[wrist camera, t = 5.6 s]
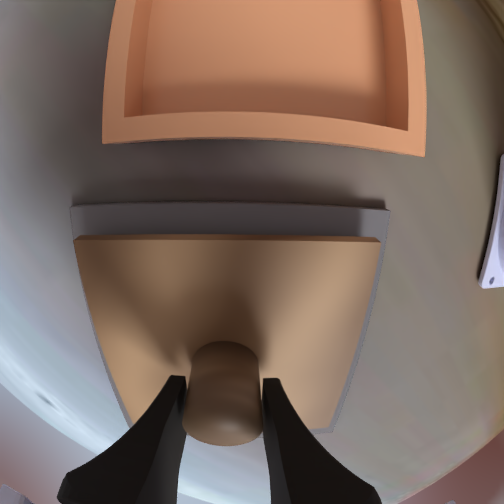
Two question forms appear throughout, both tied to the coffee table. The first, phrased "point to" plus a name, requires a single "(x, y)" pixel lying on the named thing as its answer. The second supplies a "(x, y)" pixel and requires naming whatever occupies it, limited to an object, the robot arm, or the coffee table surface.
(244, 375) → the lid
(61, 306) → the coffee table surface
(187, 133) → the dish
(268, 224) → the mat
